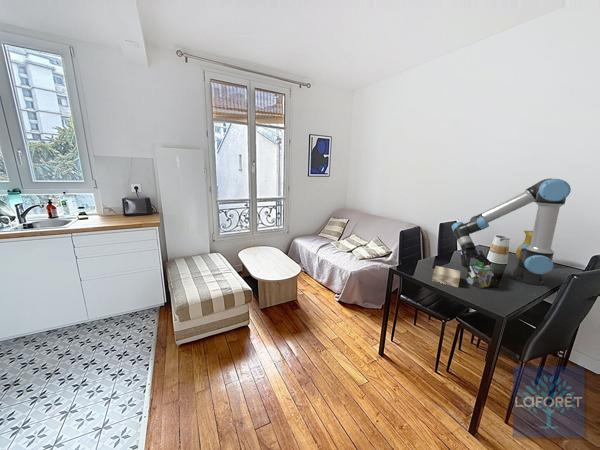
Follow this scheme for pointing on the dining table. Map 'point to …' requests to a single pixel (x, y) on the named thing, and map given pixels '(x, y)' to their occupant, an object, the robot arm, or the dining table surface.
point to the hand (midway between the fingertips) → (482, 276)
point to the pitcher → (525, 242)
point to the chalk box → (479, 275)
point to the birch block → (446, 276)
